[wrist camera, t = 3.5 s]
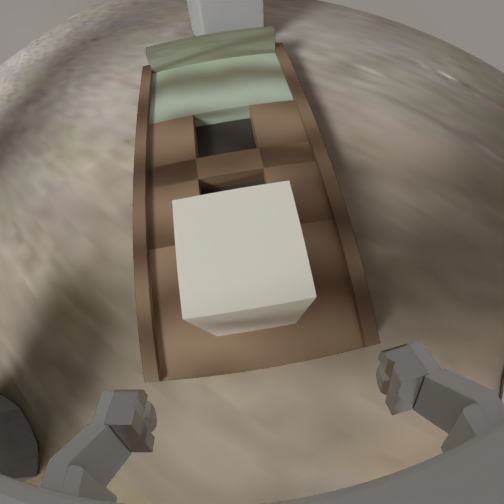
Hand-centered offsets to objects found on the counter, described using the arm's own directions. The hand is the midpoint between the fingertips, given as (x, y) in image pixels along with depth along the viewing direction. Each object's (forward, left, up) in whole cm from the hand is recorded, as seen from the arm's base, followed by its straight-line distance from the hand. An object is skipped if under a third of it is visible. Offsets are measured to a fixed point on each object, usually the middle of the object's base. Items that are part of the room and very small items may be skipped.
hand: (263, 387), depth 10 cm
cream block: (-4, +4, -9) cm, 11 cm away
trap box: (-11, +11, -11) cm, 19 cm away
